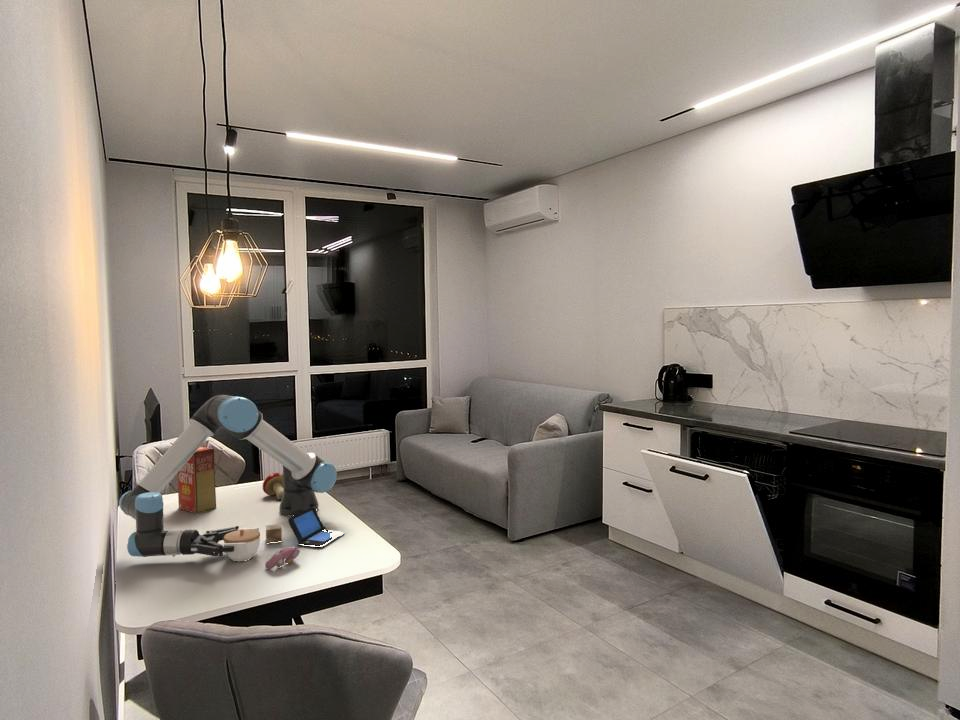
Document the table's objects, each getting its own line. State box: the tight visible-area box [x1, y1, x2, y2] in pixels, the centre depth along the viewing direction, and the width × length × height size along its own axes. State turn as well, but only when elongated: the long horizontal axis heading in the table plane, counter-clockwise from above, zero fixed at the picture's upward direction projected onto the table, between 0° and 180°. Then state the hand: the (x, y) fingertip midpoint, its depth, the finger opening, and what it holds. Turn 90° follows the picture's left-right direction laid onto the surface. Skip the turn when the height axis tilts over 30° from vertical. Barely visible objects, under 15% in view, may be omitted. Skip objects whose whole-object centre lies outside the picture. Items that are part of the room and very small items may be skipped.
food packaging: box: [176, 445, 217, 514], centre depth 240 cm, size 13×9×25 cm
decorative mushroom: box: [262, 472, 284, 500], centre depth 256 cm, size 11×11×15 cm
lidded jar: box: [223, 528, 261, 563], centre depth 186 cm, size 11×11×9 cm
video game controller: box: [264, 545, 301, 570], centre depth 180 cm, size 10×5×7 cm, turn 149°
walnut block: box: [265, 523, 283, 543], centre depth 202 cm, size 5×5×5 cm
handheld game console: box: [287, 507, 332, 546], centre depth 203 cm, size 16×13×9 cm
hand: (252, 539), depth 187 cm, fingers open, 13 cm apart
